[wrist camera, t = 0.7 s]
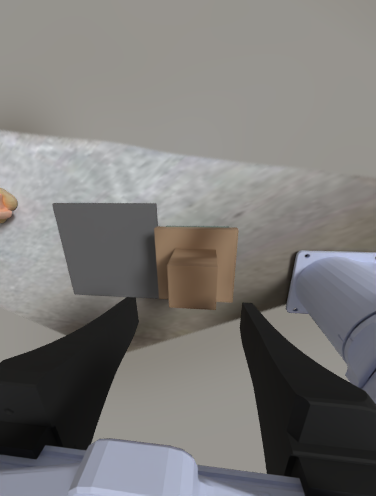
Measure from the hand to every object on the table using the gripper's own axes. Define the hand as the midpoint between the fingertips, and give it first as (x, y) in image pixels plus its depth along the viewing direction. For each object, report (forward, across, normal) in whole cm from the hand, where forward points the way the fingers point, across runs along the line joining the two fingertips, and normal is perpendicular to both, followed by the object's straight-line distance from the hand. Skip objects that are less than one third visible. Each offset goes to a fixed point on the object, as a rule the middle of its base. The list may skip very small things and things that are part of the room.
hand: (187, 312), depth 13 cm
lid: (+8, 0, 0) cm, 8 cm away
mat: (+10, +10, 0) cm, 15 cm away
